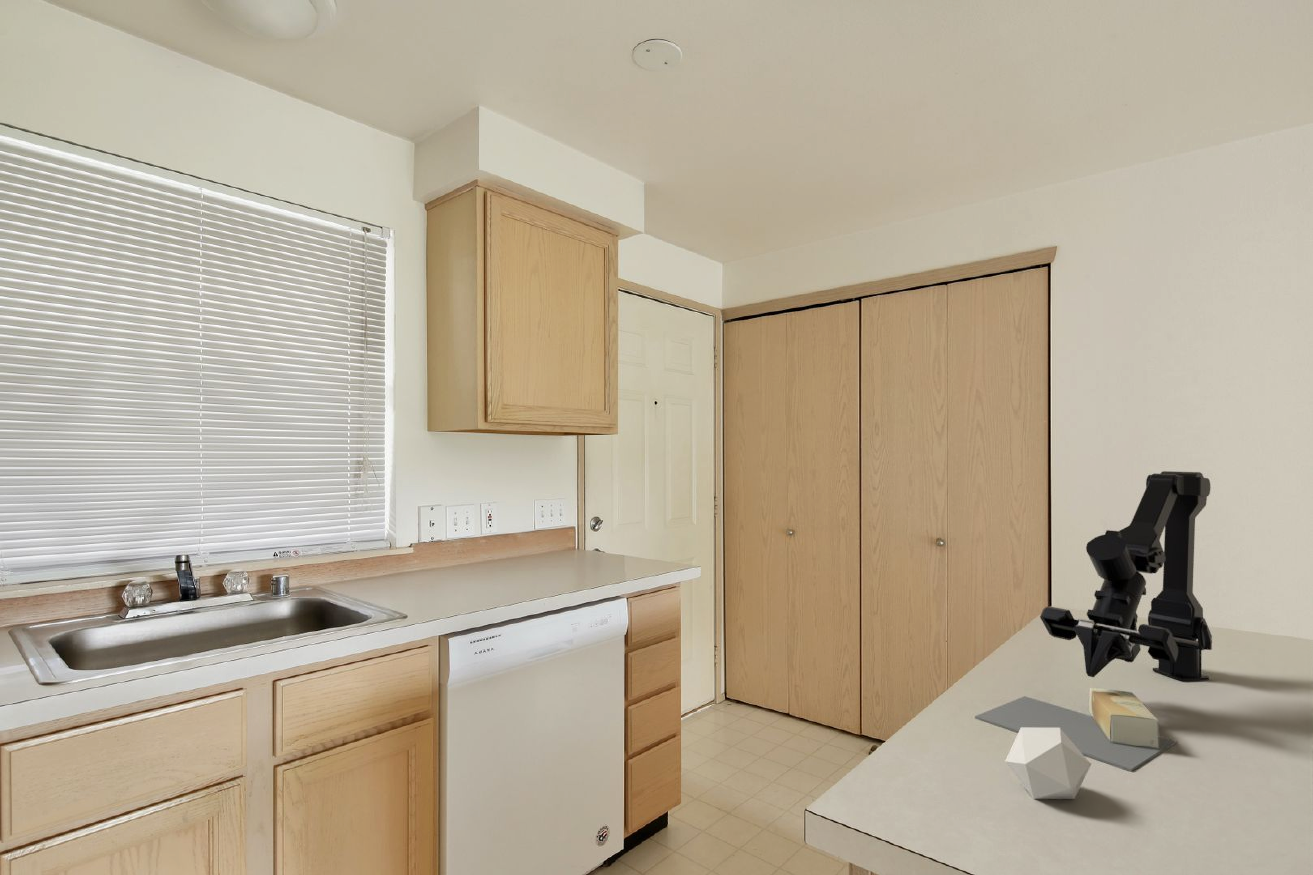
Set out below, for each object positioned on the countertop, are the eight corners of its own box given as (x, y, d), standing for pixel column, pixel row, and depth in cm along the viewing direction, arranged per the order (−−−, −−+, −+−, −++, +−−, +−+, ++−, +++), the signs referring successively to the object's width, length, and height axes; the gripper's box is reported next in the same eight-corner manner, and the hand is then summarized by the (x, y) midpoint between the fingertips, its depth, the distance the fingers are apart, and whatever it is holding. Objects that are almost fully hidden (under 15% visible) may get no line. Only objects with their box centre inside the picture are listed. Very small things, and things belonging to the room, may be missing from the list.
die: (1087, 824, 80) (1112, 748, 83) (1017, 781, 81) (1045, 708, 85) (1048, 814, 87) (1073, 745, 91) (985, 775, 89) (1012, 708, 92)
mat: (1024, 697, 119) (1024, 696, 119) (1175, 742, 101) (1175, 740, 101) (975, 717, 110) (975, 715, 110) (1131, 771, 92) (1131, 769, 92)
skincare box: (1132, 691, 110) (1161, 719, 98) (1132, 718, 110) (1162, 749, 98) (1086, 686, 112) (1110, 713, 100) (1086, 713, 112) (1110, 743, 100)
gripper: (1197, 639, 111) (1172, 722, 105) (1074, 616, 127) (1045, 687, 120) (1179, 597, 107) (1152, 680, 100) (1054, 578, 122) (1023, 649, 116)
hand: (1089, 675), depth 109 cm, fingers closed
